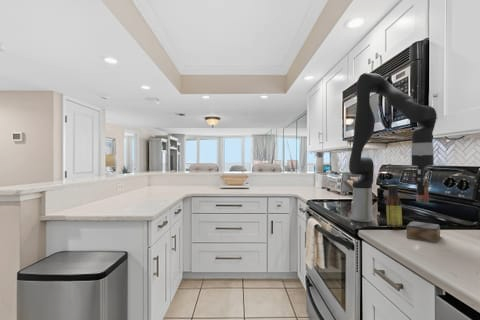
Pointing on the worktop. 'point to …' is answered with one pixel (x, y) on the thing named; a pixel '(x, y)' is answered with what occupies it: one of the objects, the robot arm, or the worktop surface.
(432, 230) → the grey slab
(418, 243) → the worktop surface
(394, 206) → the sauce bottle
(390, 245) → the worktop surface
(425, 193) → the lighter
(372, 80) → the robot arm
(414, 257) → the worktop surface
